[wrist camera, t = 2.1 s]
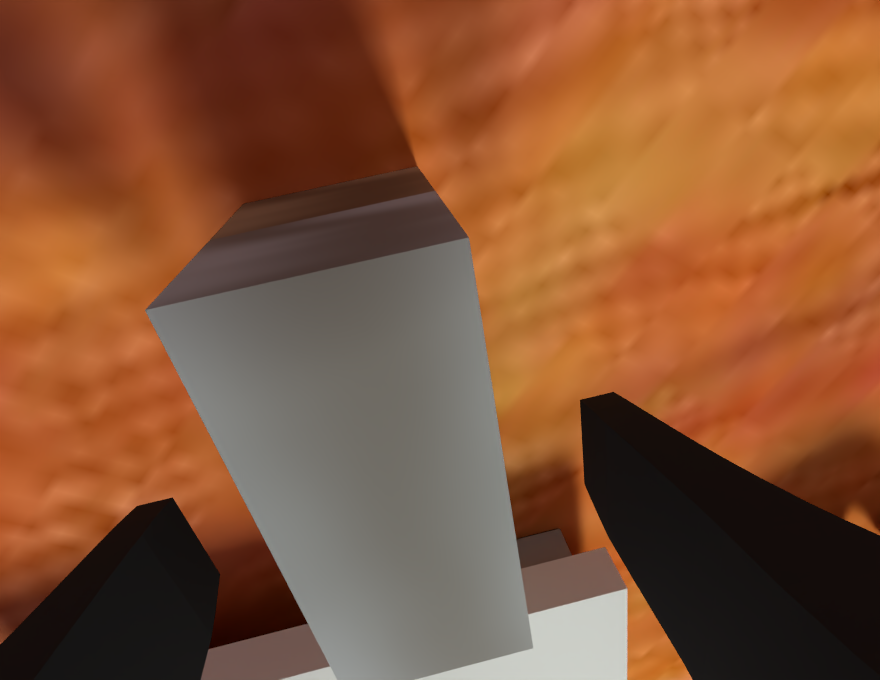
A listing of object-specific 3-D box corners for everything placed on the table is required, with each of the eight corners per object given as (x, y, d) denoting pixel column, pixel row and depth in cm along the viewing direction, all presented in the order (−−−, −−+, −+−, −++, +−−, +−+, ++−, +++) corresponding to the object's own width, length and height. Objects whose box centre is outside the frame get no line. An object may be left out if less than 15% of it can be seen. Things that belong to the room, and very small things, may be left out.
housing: (349, 488, 16) (346, 697, 10) (243, 202, 11) (145, 309, 6) (474, 458, 16) (533, 647, 10) (416, 165, 11) (468, 237, 6)
